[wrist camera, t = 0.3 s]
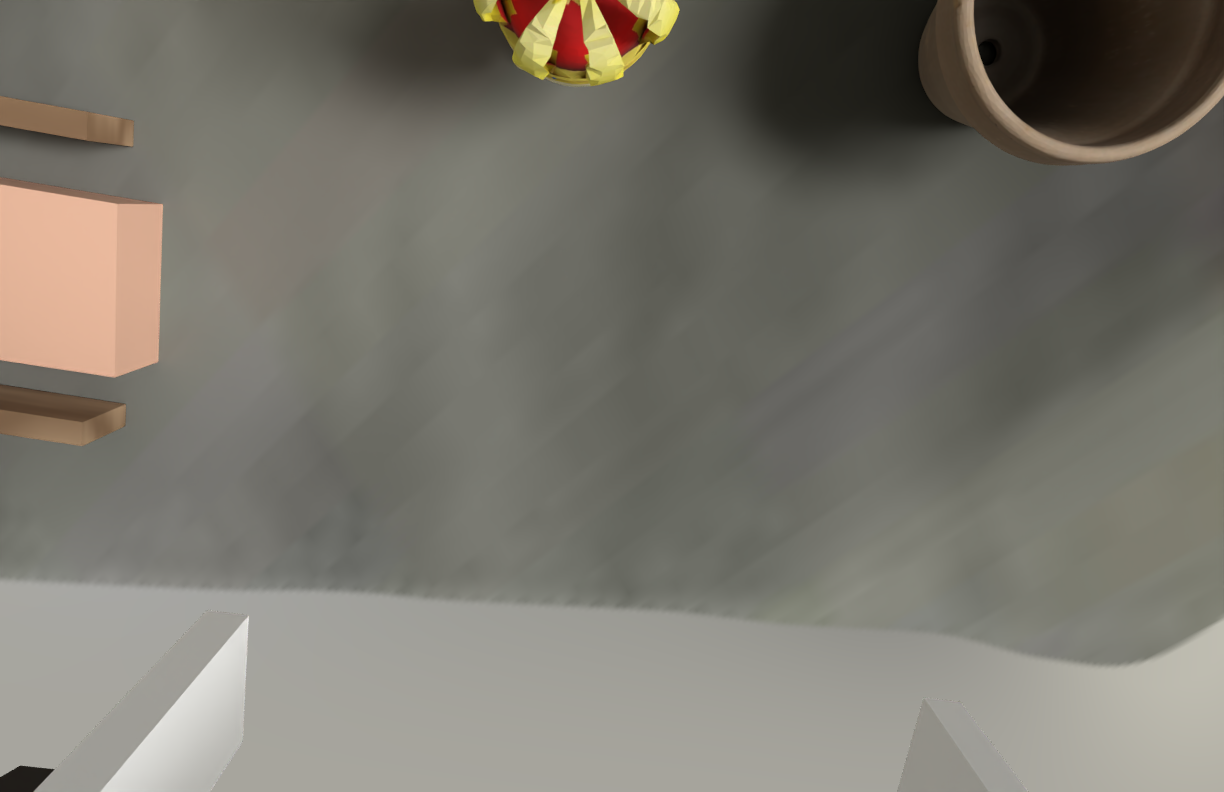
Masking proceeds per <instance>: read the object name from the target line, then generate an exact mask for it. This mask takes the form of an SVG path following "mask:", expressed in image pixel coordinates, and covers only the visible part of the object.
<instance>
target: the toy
mask: <svg viewBox="0 0 1224 792" xmlns="http://www.w3.org/2000/svg"><path fill="white" fill-rule="evenodd" d="M473 2H474V5H475V9H476V12H477V13H478V14H479V15H480V17H481V19H482V21H495V22H499V25H500V28H501V30H502V32H503V34H504V35H505V37H506V39H507V41H508V43H509V44H510V46H511V48H512V49H513V51H514V52H513V57H512V60H513V62H514V63H515V65H516V66H517V67H518V68H519V69H521V70H525V71H527V72H528V73H530V74H532V75H533V76H535V77H537V78H540V79H542V80H543V79H544V78H545V79H547V80H549V81H551V82H554V83H557V84H560V85H564V86H571V87H584V86H595V85H600V84H604V83H607V82H611V81H614V80H617V79H619V78H621V77H623V72H624V71H625V70H626V69H627V68H629V67H630V66H631V65H633V64H634V63H635V62H636V61H637V60H638V59H639V58H640V57H641V56H642V54H643V53H644V51H645V50H646V48H647V47H648V45H649V44H650V43H652V44H654V45H655V44H657V43H659V42H661V41H663V40H664V39H665V38H666V37H667V35H668V34H669V32H670V31H671V29H672V27H673V25H674V23H675V21H676V19H677V16H678V13H679V10H680V9H679V7H678V5H677V3H676V2H675V1H674V0H473Z"/></svg>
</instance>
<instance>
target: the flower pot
mask: <svg viewBox="0 0 1224 792" xmlns="http://www.w3.org/2000/svg"><path fill="white" fill-rule="evenodd" d="M984 41H987V42H991V43H992V44H993V45H994V46H995V48H996V58H995V60H994V61H993V63H992V64H991V65H988V66H984V65H983V63H982V60H981V58H980V55H979V51H978V47H979V45H980V44H981V43H982V42H984ZM918 67H919V75H920V79H921V82H922V85H923V88H924V90H925V92H926V94H927V96H928V97H929V99H930V101H931V102H932V103H933V104H934V106H935V107H937V108H938V109H939V110H940V111H941V112H942V113H943V114H944V115H946V116H948V117H949V118H951V119H953V120H955V121H957V122H960V123H962V124H965V125H967V126H970V127H973V128H975V129H976V130H977V131H978V132H979V133H980V134H981V135H982V136H983V137H984V138H986V139H987V140H988V141H990V142H991V143H992V144H994V145H995V146H997V147H998V148H1000V149H1001V150H1003V151H1005V152H1007V153H1009V154H1011V155H1014V156H1016V157H1019V158H1022V159H1025V160H1028V161H1031V162H1036V163H1041V164H1048V165H1083V164H1100V163H1110V162H1115V161H1120V160H1125V159H1128V158H1132V157H1135V156H1138V155H1141V154H1144V153H1146V152H1149V151H1151V150H1154V149H1156V148H1158V147H1160V146H1162V145H1164V144H1166V143H1168V142H1169V141H1171V140H1173V139H1175V138H1176V137H1178V136H1180V135H1181V134H1182V133H1184V132H1185V131H1187V130H1188V129H1189V128H1191V127H1192V126H1193V125H1194V124H1196V123H1197V122H1198V121H1199V120H1200V119H1201V118H1203V117H1204V116H1205V115H1206V114H1207V113H1208V112H1209V111H1210V110H1211V109H1212V108H1213V107H1214V106H1215V105H1216V104H1217V103H1218V102H1219V100H1220V99H1221V98H1222V97H1223V96H1224V0H937V4H936V6H935V7H934V9H933V11H932V13H931V15H930V17H929V20H928V22H927V24H926V27H925V29H924V31H923V34H922V37H921V41H920V46H919V53H918Z"/></svg>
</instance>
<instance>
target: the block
mask: <svg viewBox="0 0 1224 792" xmlns="http://www.w3.org/2000/svg"><path fill="white" fill-rule="evenodd" d="M162 217H163V204H158V203H152V202H146V201H140V200H134V199H128V198H122V197H116V196H110V195H104V194H98V193H92V192H86V191H80V190H74V189H68V188H62V187H56V186H50V185H44V184H38V183H32V182H26V181H20V180H14V179H8V178H2V177H0V360H3V361H9V362H16V363H23V364H29V365H36V366H42V367H49V368H56V369H62V370H69V371H75V372H82V373H89V374H95V375H102V376H108V377H117V376H120V375H123V374H126V373H129V372H131V371H134V370H137V369H140V368H143V367H145V366H148V365H151V364H154V363H157V362H158V353H159V319H160V285H161V251H162Z"/></svg>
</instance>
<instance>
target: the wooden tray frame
mask: <svg viewBox="0 0 1224 792" xmlns="http://www.w3.org/2000/svg"><path fill="white" fill-rule="evenodd" d="M0 125H3V126H8V127H14V128H20V129H25V130H31V131H36V132H42V133H48V134H53V135H59V136H64V137H70V138H76V139H81V140H87V141H94V142H102V143H109V144H117V145H124V146H132V147H133V131H134V121H132V120H127V119H122V118H116V117H111V116H106V115H101V114H96V113H90V112H85V111H79V110H74V109H68V108H63V107H57V106H52V105H46V104H41V103H35V102H30V101H24V100H19V99H13V98H8V97H2V96H0ZM125 417H126V404H122V403H115V402H109V401H103V400H96V399H90V398H83V397H77V396H71V395H64V394H58V393H51V392H45V391H39V390H32V389H26V388H19V387H13V386H7V385H0V434H6V435H13V436H19V437H26V438H33V439H39V440H46V441H52V442H59V443H66V444H72V445H79V446H84V445H86V444H88V443H90V442H92V441H94V440H96V439H98V438H101V437H103V436H105V435H107V434H109V433H111V432H113V431H116V430H118V429H120V428H122V427H124V426H125Z"/></svg>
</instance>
